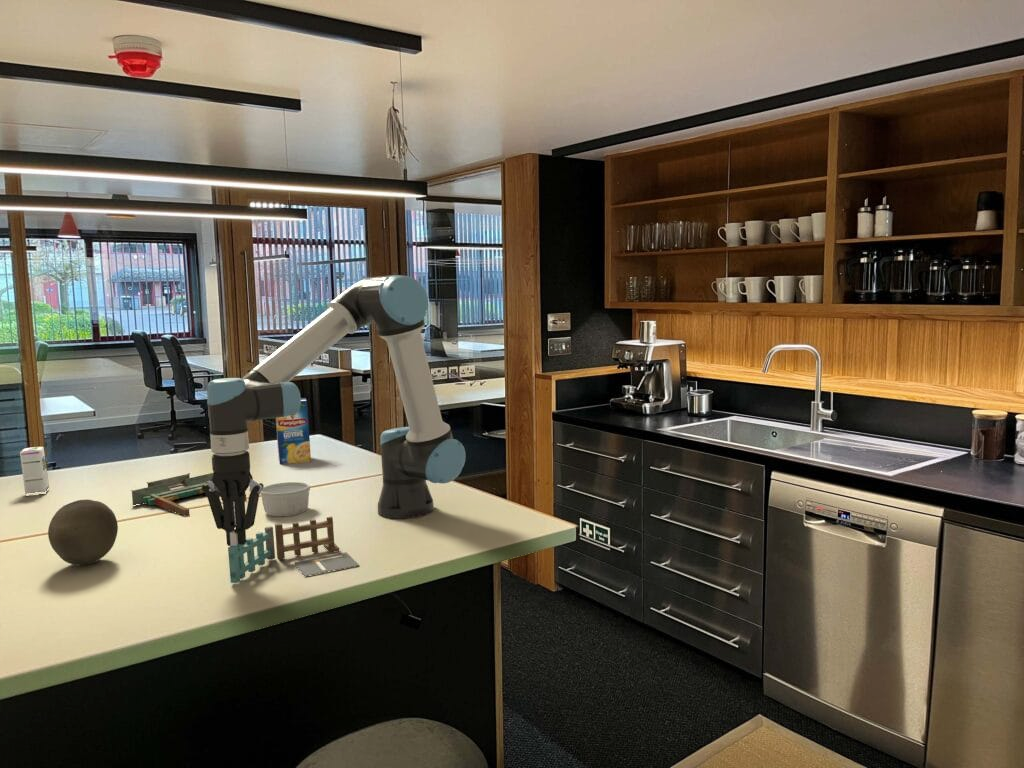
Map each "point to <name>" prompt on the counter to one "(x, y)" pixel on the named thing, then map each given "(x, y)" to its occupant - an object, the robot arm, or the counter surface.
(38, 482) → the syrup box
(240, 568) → the fence
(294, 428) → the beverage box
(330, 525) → the fence
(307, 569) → the card
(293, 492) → the ramekin
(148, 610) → the counter surface
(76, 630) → the counter surface
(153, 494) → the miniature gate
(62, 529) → the dark brown ball
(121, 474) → the counter surface
